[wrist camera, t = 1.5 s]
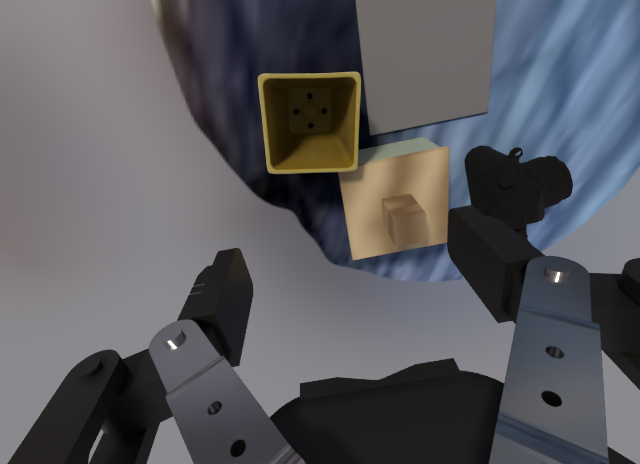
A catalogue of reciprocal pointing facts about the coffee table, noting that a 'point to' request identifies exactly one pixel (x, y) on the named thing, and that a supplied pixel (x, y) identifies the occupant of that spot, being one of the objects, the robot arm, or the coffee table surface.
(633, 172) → the coffee table surface
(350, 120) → the flower pot
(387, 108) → the mat
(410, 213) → the lid
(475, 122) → the coffee table surface
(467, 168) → the film camera
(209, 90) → the coffee table surface
